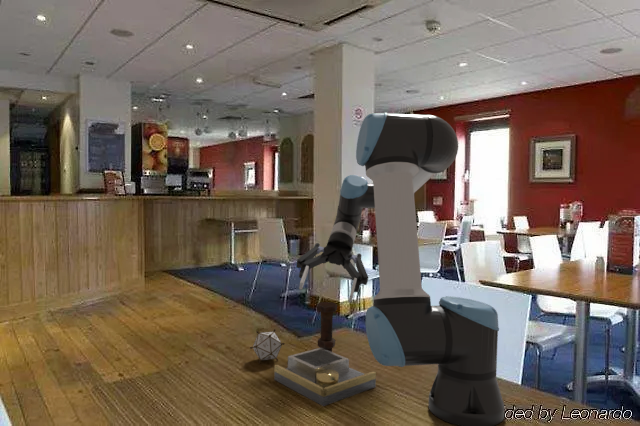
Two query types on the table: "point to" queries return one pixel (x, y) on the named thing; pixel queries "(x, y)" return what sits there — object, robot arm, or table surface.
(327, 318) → the bolt
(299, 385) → the carrier
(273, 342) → the game die
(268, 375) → the table surface
